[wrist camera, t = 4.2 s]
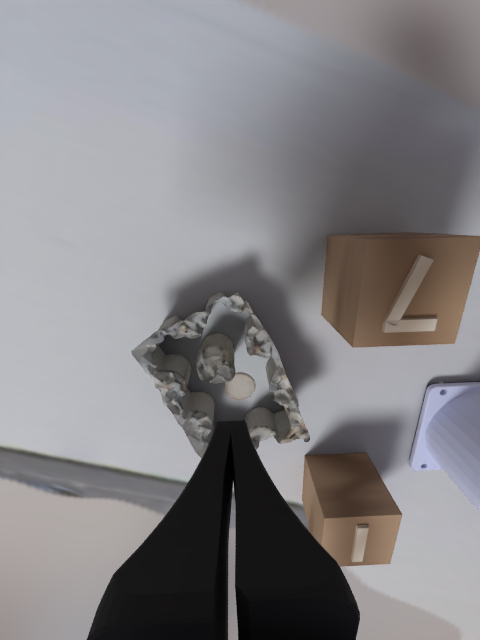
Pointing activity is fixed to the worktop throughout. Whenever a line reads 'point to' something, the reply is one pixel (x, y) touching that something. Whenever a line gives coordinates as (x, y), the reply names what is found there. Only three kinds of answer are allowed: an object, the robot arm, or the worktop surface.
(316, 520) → the numbered block one
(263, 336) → the egg carton
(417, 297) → the numbered block seven
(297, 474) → the worktop surface
